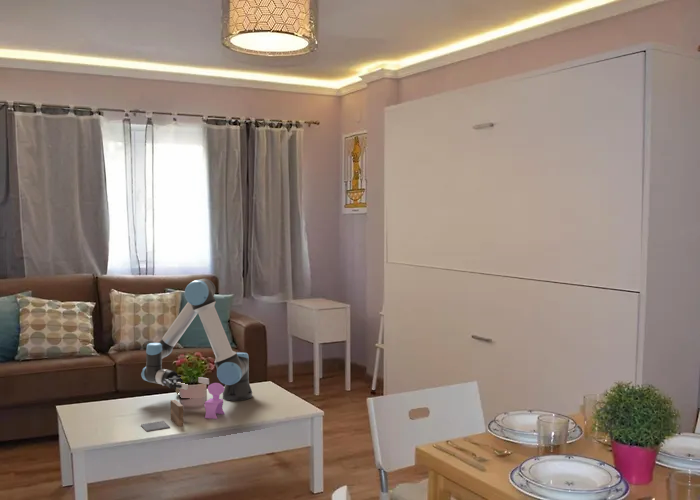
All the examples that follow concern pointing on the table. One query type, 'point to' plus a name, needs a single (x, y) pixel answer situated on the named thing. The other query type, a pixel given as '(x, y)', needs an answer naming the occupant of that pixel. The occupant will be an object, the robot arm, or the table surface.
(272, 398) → the table surface
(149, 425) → the coaster
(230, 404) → the table surface
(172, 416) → the brown wooden slab
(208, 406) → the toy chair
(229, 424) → the table surface
